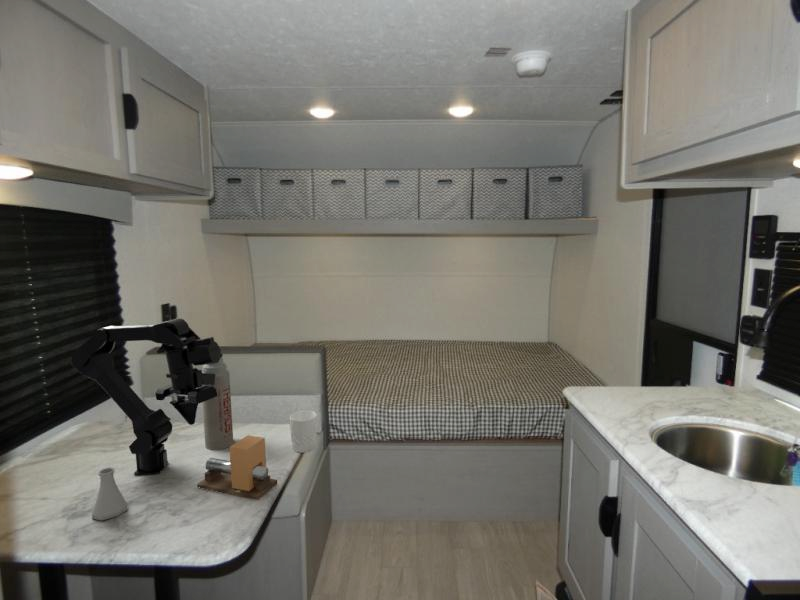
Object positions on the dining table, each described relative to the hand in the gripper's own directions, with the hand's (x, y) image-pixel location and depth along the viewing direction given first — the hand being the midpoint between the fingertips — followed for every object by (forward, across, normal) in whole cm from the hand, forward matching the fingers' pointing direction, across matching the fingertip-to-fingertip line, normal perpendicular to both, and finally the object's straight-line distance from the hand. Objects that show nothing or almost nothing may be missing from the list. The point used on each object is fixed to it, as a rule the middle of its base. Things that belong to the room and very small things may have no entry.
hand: (192, 424), depth 123 cm
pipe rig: (+15, -14, 0) cm, 21 cm away
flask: (+12, +2, +23) cm, 26 cm away
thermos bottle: (+13, +10, -14) cm, 21 cm away
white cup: (+16, -14, -24) cm, 33 cm away
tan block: (+14, -18, -1) cm, 23 cm away
